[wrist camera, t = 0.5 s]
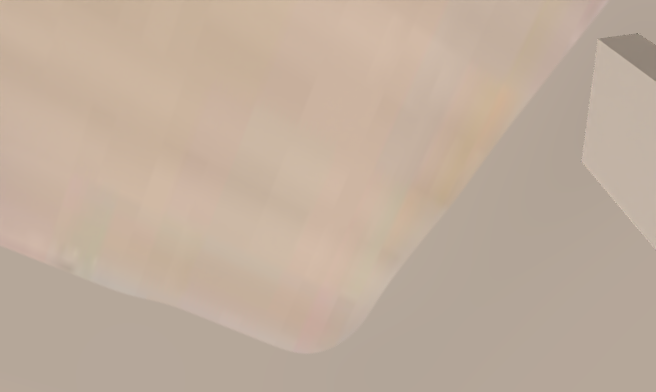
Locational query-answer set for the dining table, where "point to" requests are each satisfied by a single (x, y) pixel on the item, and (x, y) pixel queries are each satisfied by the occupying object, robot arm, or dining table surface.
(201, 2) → the dining table surface
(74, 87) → the dining table surface
